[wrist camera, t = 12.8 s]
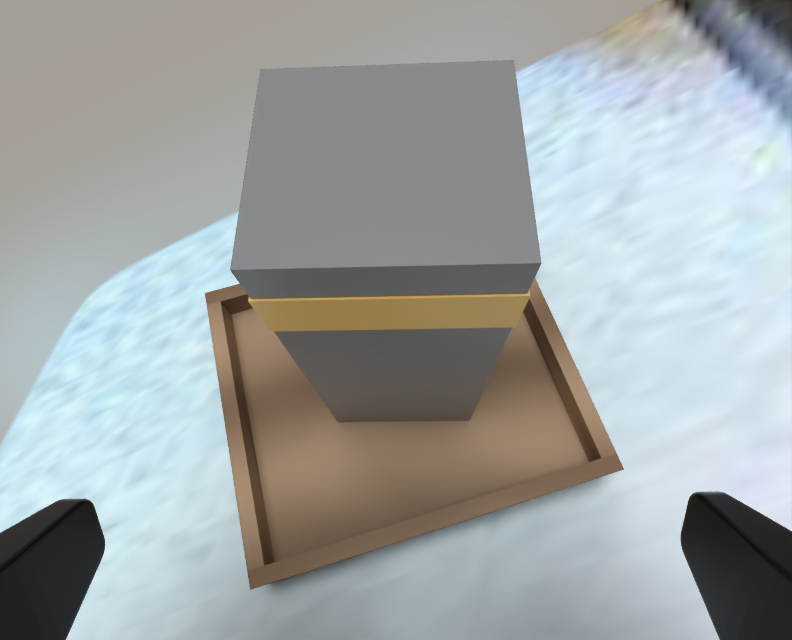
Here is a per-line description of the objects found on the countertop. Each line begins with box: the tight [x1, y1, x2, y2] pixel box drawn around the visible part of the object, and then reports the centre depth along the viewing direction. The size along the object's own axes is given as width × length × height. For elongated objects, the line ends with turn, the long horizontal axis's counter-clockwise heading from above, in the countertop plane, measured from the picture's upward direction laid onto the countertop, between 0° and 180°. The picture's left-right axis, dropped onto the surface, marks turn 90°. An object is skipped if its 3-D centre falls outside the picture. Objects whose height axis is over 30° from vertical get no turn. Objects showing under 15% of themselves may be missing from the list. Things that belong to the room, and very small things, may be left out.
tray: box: [205, 278, 624, 590], centre depth 21 cm, size 12×14×2 cm
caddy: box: [230, 60, 541, 422], centre depth 16 cm, size 5×6×13 cm
